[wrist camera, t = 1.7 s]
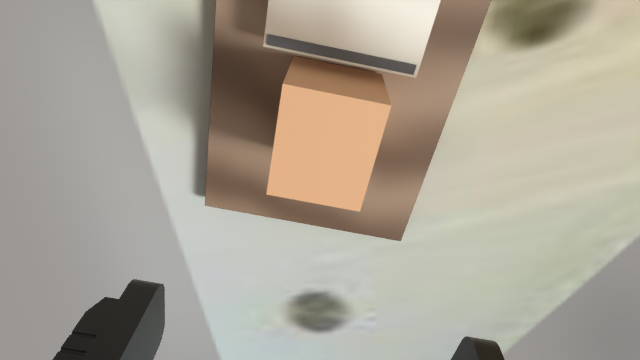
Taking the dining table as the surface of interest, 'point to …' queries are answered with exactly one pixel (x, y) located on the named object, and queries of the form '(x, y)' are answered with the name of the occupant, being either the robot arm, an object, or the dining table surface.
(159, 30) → the dining table surface
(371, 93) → the light orange cube
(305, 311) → the dining table surface
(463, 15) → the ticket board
